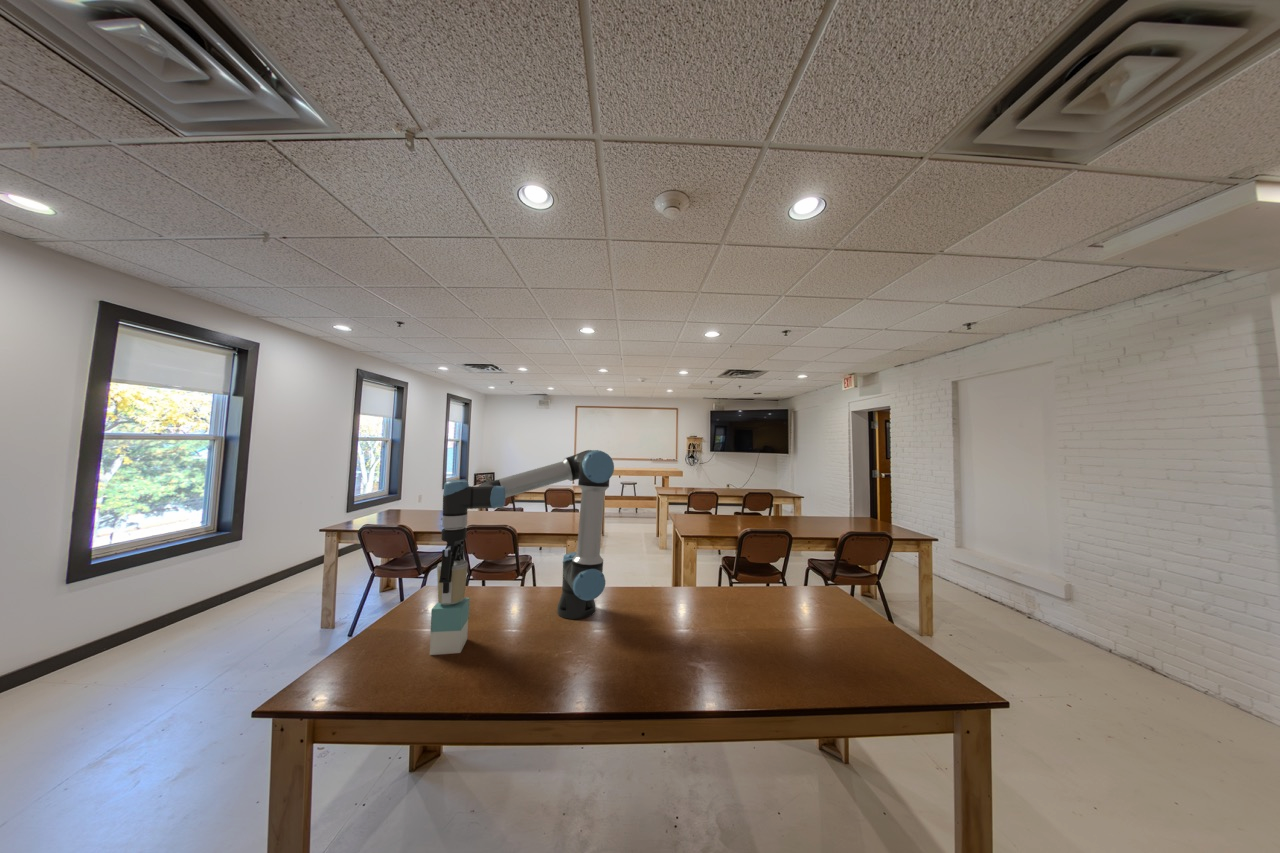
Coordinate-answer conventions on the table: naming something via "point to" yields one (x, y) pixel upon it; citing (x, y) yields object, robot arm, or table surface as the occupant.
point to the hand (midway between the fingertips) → (451, 597)
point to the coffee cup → (454, 581)
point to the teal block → (449, 616)
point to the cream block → (448, 641)
